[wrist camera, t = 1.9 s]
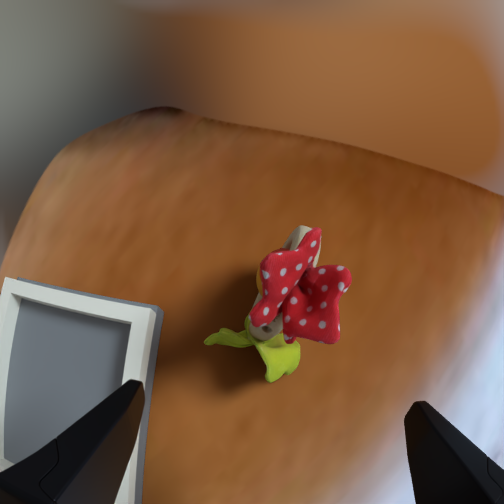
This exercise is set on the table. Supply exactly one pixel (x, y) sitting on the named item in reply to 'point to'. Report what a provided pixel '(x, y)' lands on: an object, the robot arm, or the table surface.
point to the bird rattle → (291, 304)
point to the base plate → (70, 366)
